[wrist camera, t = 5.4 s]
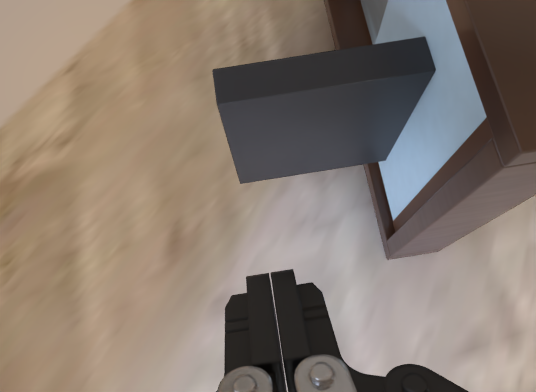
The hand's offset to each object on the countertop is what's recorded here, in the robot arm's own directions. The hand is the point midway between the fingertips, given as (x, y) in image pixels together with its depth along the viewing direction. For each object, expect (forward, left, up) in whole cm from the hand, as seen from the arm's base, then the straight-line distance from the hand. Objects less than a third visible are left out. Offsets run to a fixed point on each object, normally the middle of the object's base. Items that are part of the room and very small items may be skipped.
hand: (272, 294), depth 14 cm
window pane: (+7, +5, -11) cm, 14 cm away
